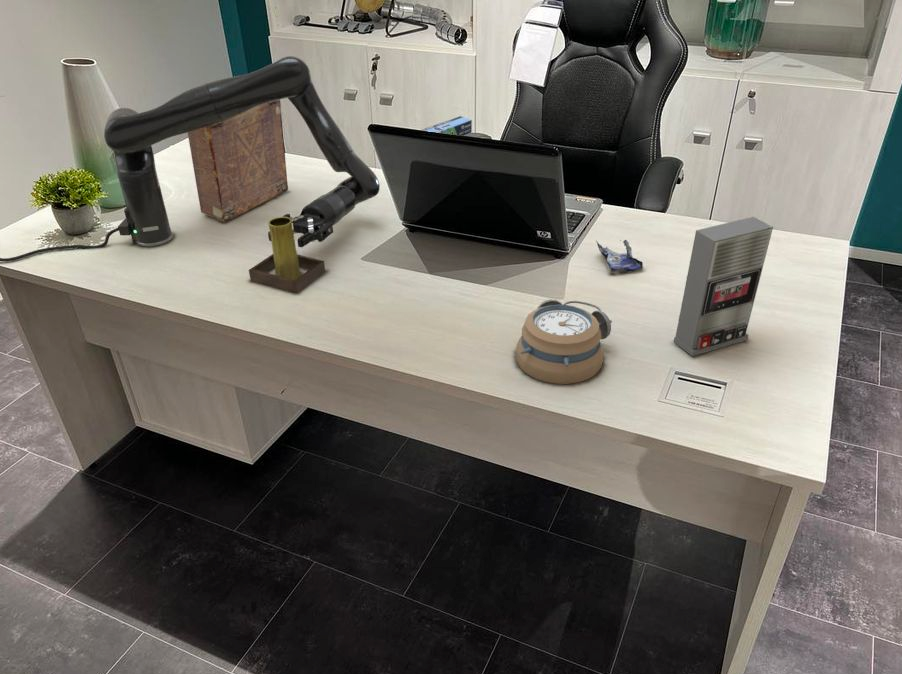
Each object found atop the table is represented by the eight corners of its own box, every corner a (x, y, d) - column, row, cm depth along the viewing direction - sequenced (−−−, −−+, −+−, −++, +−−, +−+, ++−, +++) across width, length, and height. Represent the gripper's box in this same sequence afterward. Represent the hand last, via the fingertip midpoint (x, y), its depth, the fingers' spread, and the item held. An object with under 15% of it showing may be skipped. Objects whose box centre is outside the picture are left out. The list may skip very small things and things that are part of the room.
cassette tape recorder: (692, 358, 151) (717, 243, 137) (673, 342, 156) (694, 230, 141) (747, 341, 156) (777, 228, 141) (727, 327, 160) (753, 216, 146)
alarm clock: (503, 330, 144) (549, 277, 160) (501, 370, 150) (546, 315, 166) (589, 353, 137) (628, 295, 154) (584, 394, 143) (623, 334, 159)
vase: (306, 273, 184) (298, 218, 176) (292, 284, 179) (283, 228, 171) (285, 268, 186) (276, 214, 178) (270, 279, 182) (260, 224, 173)
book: (265, 181, 228) (255, 80, 209) (288, 190, 225) (280, 88, 205) (200, 213, 212) (182, 106, 193) (224, 223, 208) (208, 116, 189)
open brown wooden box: (250, 281, 181) (248, 270, 180) (280, 260, 190) (278, 249, 188) (297, 293, 176) (295, 282, 174) (325, 271, 184) (324, 260, 182)
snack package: (641, 254, 188) (593, 249, 190) (646, 232, 184) (597, 228, 185) (640, 284, 180) (590, 279, 182) (645, 262, 175) (594, 257, 177)
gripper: (298, 194, 189) (256, 221, 178) (346, 202, 183) (306, 230, 172) (303, 222, 193) (263, 250, 182) (350, 231, 187) (311, 260, 176)
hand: (284, 240), depth 177 cm, fingers open, 8 cm apart
